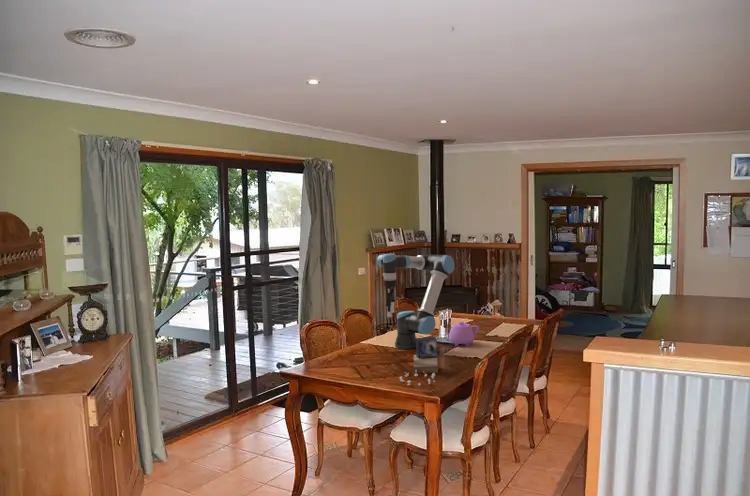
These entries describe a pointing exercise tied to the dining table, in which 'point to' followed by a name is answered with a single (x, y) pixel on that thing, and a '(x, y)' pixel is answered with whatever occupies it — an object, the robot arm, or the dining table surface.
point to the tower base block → (426, 369)
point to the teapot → (462, 334)
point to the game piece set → (417, 375)
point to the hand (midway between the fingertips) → (390, 314)
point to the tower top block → (425, 362)
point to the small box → (426, 347)
